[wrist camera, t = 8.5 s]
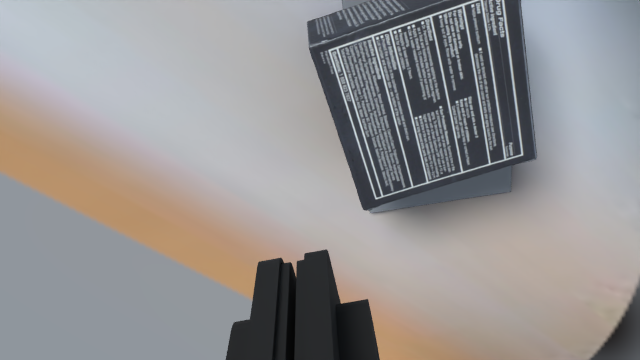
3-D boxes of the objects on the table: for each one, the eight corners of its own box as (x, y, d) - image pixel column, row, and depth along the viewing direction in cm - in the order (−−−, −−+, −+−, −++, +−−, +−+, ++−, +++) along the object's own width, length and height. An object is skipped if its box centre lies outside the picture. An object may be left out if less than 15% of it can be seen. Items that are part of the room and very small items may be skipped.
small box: (352, 164, 34) (499, 121, 33) (362, 215, 28) (540, 165, 27) (305, 17, 29) (477, -40, 27) (306, 44, 23) (523, -27, 22)
